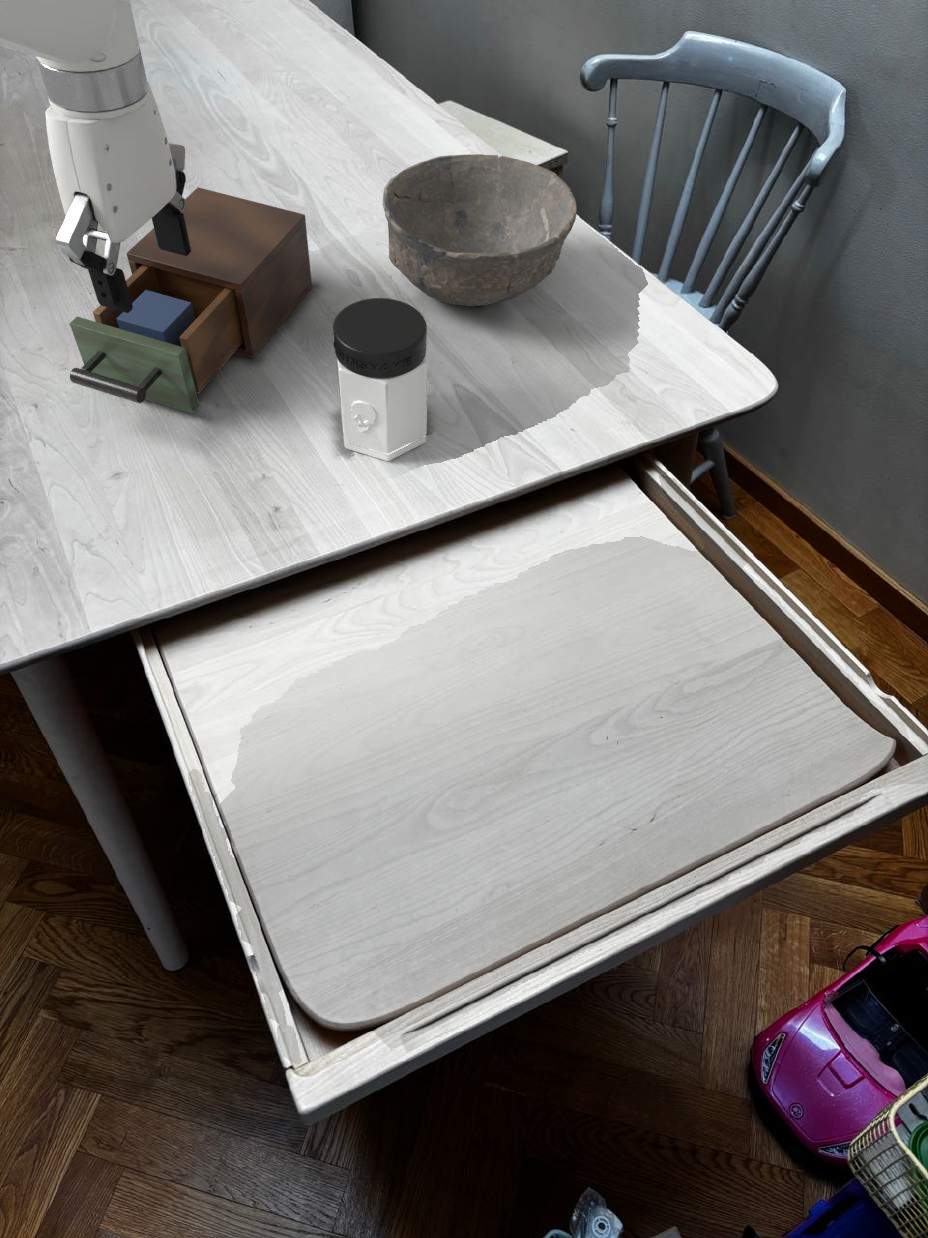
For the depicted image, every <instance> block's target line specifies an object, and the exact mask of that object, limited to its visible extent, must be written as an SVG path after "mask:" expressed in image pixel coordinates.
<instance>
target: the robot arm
mask: <svg viewBox="0 0 928 1238" xmlns="http://www.w3.org/2000/svg"><path fill="white" fill-rule="evenodd" d="M133 13H134V12H133V9H132V4H131V0H0V48H4V49H8V50H11V51H15V52H18V53H23V54H25V55H30V56H34V57H35V60H36V62H37V66H38V69H39V73H40V76H41V79H42V83H43V86H44V90H45V93H46V96H47V99H48V102H49V106H48V108H46V110H45V112H44V113H45V124H46V134H47V143H48V148H49V153H50V159H51V165H52V170H53V173H54V178H55V182H56V186H57V190H58V194H59V198H60V202H61V206H62V207H63V208H62V209H63V212H64V215H65V217H64V220H63V222H62V224H61V226H60V228H59V231H58V233H57V236H56V237H55V243H56V246H57V248H60V250H61V251H62V253H64V254H65V255H66V256H67V257H68V259H69V261H70V262H71V263H73V264H75V265H78V266H79V267H81V268H83V269H84V270H85V269H86V270H87V271H88V274H89V277H90V281H91V284H92V287H93V290H94V294H95V296H96V300H97V302H98V304H99V306H100V305H102V306H105V307H108V308H112V309H115V310H118V311H122V312H125V313H129V312H130V311H131V310H132V309H133V305H132V301H131V298H130V294H129V290H128V287H127V283H126V280H127V279H126V276H125V273H124V271H123V269H121V268H119V267H117V266H118V261H119V260H118V259H119V254H120V249H121V243H123V242H125V241H127V240H128V239H129V238H130V237H132V236H133V235H134V234H135V233H137V232H138V231H139V230H140V229H141V228H143V227H144V226H145V224H147V223H148V222H149V221H150V220H151V222H152V225H153V228H154V230H155V235H156V239H157V243H158V247H159V248H160V249H161V250H165V251H169V252H172V253H176V254H180V255H183V256H188V255H189V254H190V253H191V248H190V243H189V238H188V233H187V228H186V224H185V219H184V214H183V213H181V212H182V211H184V209H185V206H186V202H185V199H186V198H185V197H184V196H183V194H184V189H185V185H186V182H187V175H186V173H185V172H184V170H185V165H186V148H185V146H184V145H182V144H178V143H175V142H174V143H173V142H169V140H168V135H167V131H166V129H165V126H164V121H163V119H162V116H161V112H160V110H159V106H158V105H157V101H156V98H155V96H154V93H153V91H152V88H151V86H150V83H149V81H148V78H147V74H146V68H145V65H144V60H143V56H142V52H141V47H140V42H139V37H138V33H137V28H136V24H135V18H134V14H133ZM99 226H100V227H101V229H102V230H99V229H98V227H99ZM98 240H100V241H105V244H104V252H103V256H101V255H100V254H97V253H96V249H97V243H98Z"/></svg>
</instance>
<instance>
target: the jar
mask: <svg viewBox="0 0 928 1238" xmlns="http://www.w3.org/2000/svg"><path fill="white" fill-rule="evenodd" d="M427 329H428V328H427V322H426V319H425V317H424V316H423V314H422V313H421V312H420V311H419V310H418V309H417V308H416V307H414V306H413V305H410V304H409V303H407V302H403V300H402V301H401V300H398V299H394V298H386V297H372V298H365V299H361V300H358V301H355V302H352V303H350V304H349V305H347V306H345V307H344V308H342V309H341V310H340V311H339V312H338V314H337V315H336V316H335V318H334V320H333V324H332V333H333V335H332V336H333V343H332V344H333V345H332V346H333V349H334V354H335V360H336V374H337V386H338V397H339V410H340V419H341V429H342V436H343V445H344V449H346V450H350V451H353V452H356V453H359V454H362V455H366V456H369V457H372V458H375V459H379V460H382V461H386V462H391V461H392V460H395V459H396V458H398V457H400V456H402V455H404V454H406V453H408V452H410V451H412V450H413V449H416V448H417V447H421V445H423V444H425V443H426V442H427V441H428V440H427V435H428V434H427V431H428V380H429V379H428V375H429V374H428V373H429V371H428V370H429V364H428V363H429V362H428V359H427V358H428V357H427V336H428V333H427V332H428V330H427ZM426 434H427V435H426ZM425 435H426V436H425ZM423 436H425V437H423ZM421 437H423V438H421ZM419 438H421V439H419ZM417 439H419V440H417ZM415 440H417V441H415ZM413 441H415V442H413ZM411 442H413V443H411ZM350 443H351V444H350ZM408 443H411V444H409V445H408V446H406V447H404V448H402V449H400V450H398V451H396V452H394V453H392V454H390V455H386V454H382V453H379V452H376V451H373V450H369V449H370V448H371V449H374V450H377V451H380V452H381V451H382V452H385V453H390V452H392V451H394V450H396V449H398V448H400V447H402V446H404V445H406V444H408ZM353 444H354V445H353ZM356 445H358V446H356ZM359 445H360V446H362V447H359ZM363 447H366V448H369V449H366V448H363Z"/></svg>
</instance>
